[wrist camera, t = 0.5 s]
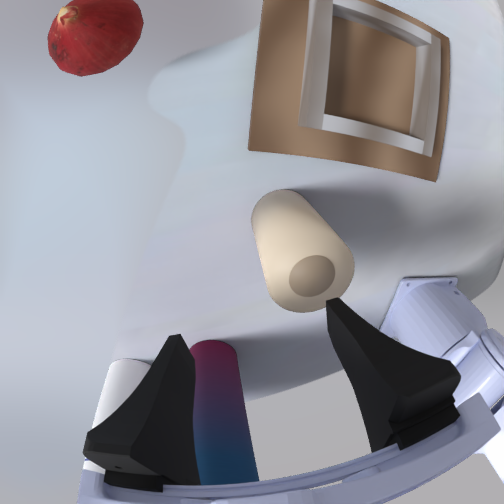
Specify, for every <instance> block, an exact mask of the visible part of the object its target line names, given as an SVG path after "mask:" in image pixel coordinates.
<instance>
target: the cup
mask: <svg viewBox="0 0 504 504" xmlns="http://www.w3.org/2000/svg"><path fill="white" fill-rule="evenodd" d="M190 352H191V354H192V356H193V357H194V359H195V368H196V383H195V396H194V408H193V431H194V444H195V453H196V460H197V467H198V472H199V477H200V482H201V486H204V485H227V484H240V483H249V482H258V481H259V477H258V472H257V467H256V462H255V457H254V452H253V447H252V441H251V436H250V431H249V426H248V420H247V414H246V409H245V403H244V397H243V391H242V385H241V379H240V373H239V367H238V361H237V355H236V352H235V350H234V349H233V348H232V347H231V346H230V345H228V344H226V343H224V342H221V341H215V340H207V341H201V342H198V343H196V344H195V345H193V346H192V347H191V348H190ZM212 501H214V500H212Z"/></svg>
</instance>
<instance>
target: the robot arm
mask: <svg viewBox="0 0 504 504" xmlns="http://www.w3.org/2000/svg"><path fill="white" fill-rule="evenodd" d="M457 282H458V279H457V278H456V277H446V278H405V279H402V280H401V282H400V284H399V286H398V289H397V291H396V294H395V296H394V299H393V301H392V303H391V306H390V308H389V310H388V313H387V315H386V317H385V320H384V322H383V324H382V326H381V328H380V330H378V329H376V328H375V327H373V326H372V325H371V324H369V323H368V322H367V321H365V320H364V319H363V318H362V317H360V316H359V315H358V314H357V313H355V312H354V311H353V310H352V309H351V308H350V307H348V306H347V305H346V304H345V303H344V302H343V301H342V300H341V299H340V298H338V297H337V298H333V299H330V300H326V312H327V326H328V332H329V335H330V338H331V341H332V344H333V347H334V349H335V351H336V353H337V355H338V357H339V359H340V361H341V363H342V365H343V367H344V369H345V371H346V373H347V376H348V378H349V380H350V382H351V384H352V386H353V389H354V392H355V395H356V398H357V401H358V404H359V407H360V410H361V414H362V417H363V420H364V424H365V427H366V431H367V435H368V439H369V443H370V447H371V451H372V453H371V454H368V455H365V456H362V457H360V458H357V459H354V460H351V461H348V462H345V463H341V464H338V465H335V466H331V467H328V468H324V469H320V470H316V471H312V472H308V473H303V474H299V475H294V476H289V477H283V478H278V479H272V480H265V481H258V482H249V483H240V484H227V485H204V486H201V482H200V477H199V472H198V467H197V460H196V453H195V444H194V431H193V408H194V396H195V383H196V368H195V359H194V357H193V356H192V354H191V352H190V350H189V349H188V347H187V345H186V343H185V341H184V340H183V338H182V336H181V334H177V335H171V336H169V337H168V339H167V341H166V342H165V344H164V346H163V347H162V349H161V351H160V352H159V354H158V356H157V357H156V359H155V361H154V362H153V364H152V366H151V367H150V369H149V370H148V372H147V373H146V375H145V376H144V378H143V379H142V381H141V382H140V383H139V385H138V386H137V387H136V389H135V390H134V391H133V392H132V394H131V395H130V396H129V397H128V398H127V399H126V400H125V401H124V402H123V403H122V405H121V406H120V407H119V408H118V409H117V410H116V411H114V412H113V413H112V414H111V415H110V416H109V417H108V418H106V419H105V420H104V421H103V422H101V423H100V424H99V425H97V426H96V427H95V428H93V429H92V430H90V431H89V432H88V433H87V437H86V441H85V445H84V449H83V454H84V456H85V457H86V458H87V459H89V460H90V461H92V462H93V463H95V464H97V465H98V466H100V467H102V468H103V469H105V474H102V473H99V472H95V471H90V470H86V469H83V470H82V475H81V480H80V486H79V492H78V499H77V504H383V503H385V502H387V501H390V500H392V499H395V498H397V497H399V496H401V495H403V494H406V493H408V492H410V491H412V490H414V489H416V488H418V487H420V486H422V485H423V484H425V483H427V482H429V481H431V480H433V479H434V478H436V477H438V476H440V475H441V474H443V473H445V472H446V471H448V470H450V469H451V468H453V467H454V466H456V465H457V464H459V463H460V462H462V461H463V460H465V459H466V458H468V457H469V456H471V455H472V454H479V453H482V454H485V456H486V457H487V459H488V460H489V462H490V463H491V465H492V466H493V468H494V469H495V471H496V472H497V474H498V475H499V477H500V479H501V480H502V482H503V483H504V397H503V398H502V399H501V400H500V401H499V402H498V403H497V404H496V405H495V406H494V407H493V408H492V409H491V410H490V409H489V408H490V407H492V406H493V405H494V404H495V403H496V402H497V401H498V400H499V399H500V397H502V395H503V394H504V337H503V336H502V335H501V334H500V333H498V332H497V331H496V330H494V329H488V328H487V323H486V320H485V318H484V316H483V314H482V313H481V312H480V311H479V310H478V309H477V308H476V307H475V306H474V305H473V303H472V302H471V301H470V300H469V299H468V298H467V297H466V296H465V295H464V294H463V293H462V292H461V291H460V290H459V289H458V288H457V287H456V285H457ZM407 283H408V284H407ZM393 337H397V338H398V340H399V341H400V343H399V342H397V341H395V340H394V339H392V338H393ZM339 480H343V481H342V483H341V484H337V485H332V486H328V487H323V488H318V489H312V490H310V489H309V488H313V487H318V486H321V485H325V484H329V483H333V482H336V481H339ZM305 489H306V490H305ZM212 500H214V501H212Z"/></svg>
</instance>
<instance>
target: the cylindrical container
mask: <svg viewBox="0 0 504 504" xmlns="http://www.w3.org/2000/svg"><path fill="white" fill-rule="evenodd" d="M150 367H151V365H149V364H147V363H144V362H141V361H138V360H133V359H119V360H116V361H114V362H113V363H112V364H111V365H110V367H109V371H108V374H107V377H106V380H105V383H104V387H103V390H102V393H101V397H100V400H99V404H98V408H97V411H96V415H95V418H94V423H93V426H92V429H93V428H95V427H96V426H97V425H99V424H100V423H101V422H103V421H104V420H105V419H106V418H108V417H109V416H110V415H111V414H112V413H113V412H114V411H116V410H117V409H118V408H119V407H120V406H121V405H122V403H123V402H124V401H125V400H126V399H127V398H128V397H129V396H130V395H131V394H132V392H133V391H134V390H135V389H136V387H137V386H138V385H139V383H140V382H141V381H142V379H143V378H144V376H145V375H146V373H147V372H148V370H149V369H150ZM83 469H86V470H90V471H95V472H99V473H102V474H105V469H103V468H102V467H100V466H98V465H97V464H95V463H93V462H92V461H90V460H89V459H87V458H86V457H85V463H84V467H83Z"/></svg>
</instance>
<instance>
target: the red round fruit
mask: <svg viewBox="0 0 504 504" xmlns="http://www.w3.org/2000/svg"><path fill="white" fill-rule="evenodd" d="M142 27H143V18H142V15H141V10H140V8H139V6H138V5H137V4H136V3H135V2H134V1H133V0H73V1H71V2H70V3H69V4H68V5H66V6H65V7H62V8H61V10H60V12H59V13H58V15H57V16H56V18H55V19H54V21H53V23H52V25H51V28H50V31H49V34H48V48H49V54H50V56H51V57H52V59H53V60H54V61H55V63H56V64H57V66H58V67H59V68H60V69H61V70H62V71H65V72H67V73H71V74H74V75H77V76H86V75H92V74H97V73H101V72H104V71H106V70H108V69H110V68H112V67H114V66H116V65H118V64H119V63H120V62H121V61H122V60H123V59H124V58H125V57H127V56H128V55H129V54H130V53H131V52H132V50H133V48H134V47H135V45H136V43H137V42H138V40H139V38H140V35H141V31H142Z"/></svg>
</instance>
